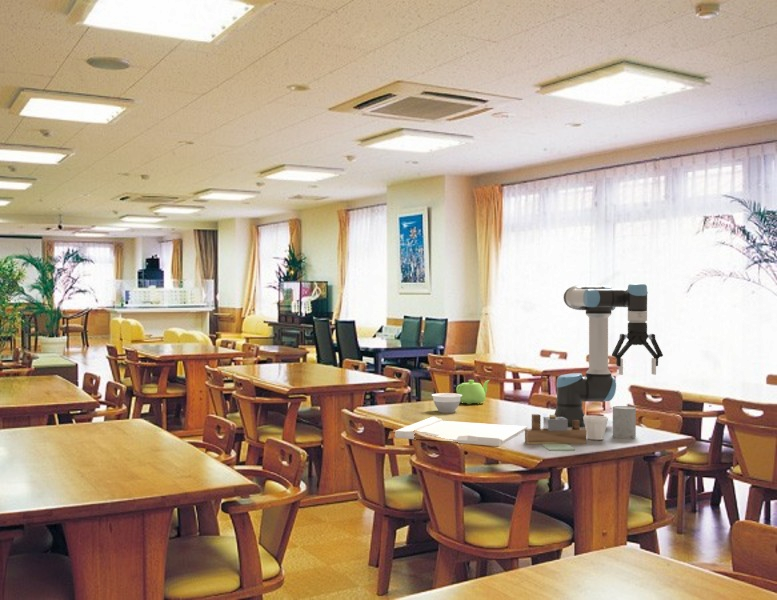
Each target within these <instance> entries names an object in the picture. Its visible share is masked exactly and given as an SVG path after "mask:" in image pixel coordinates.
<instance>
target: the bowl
mask: <svg viewBox="0 0 777 600" xmlns="http://www.w3.org/2000/svg"><path fill="white" fill-rule="evenodd" d="M461 396H462V395H461V394H457V393H453V392H451V393H450V392H449V393H448V392H445V393H444V392H441V393H439V392H438V393H437V392H436V393H433V394H431V397H432V398H433V403H434V406H435V408H436V409H437V411H438V412H439V413H446V414H447V413H448V414H449V413H456V410H457V409H458V407H459V405H460V403H461V402H460V397H461Z"/></svg>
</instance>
